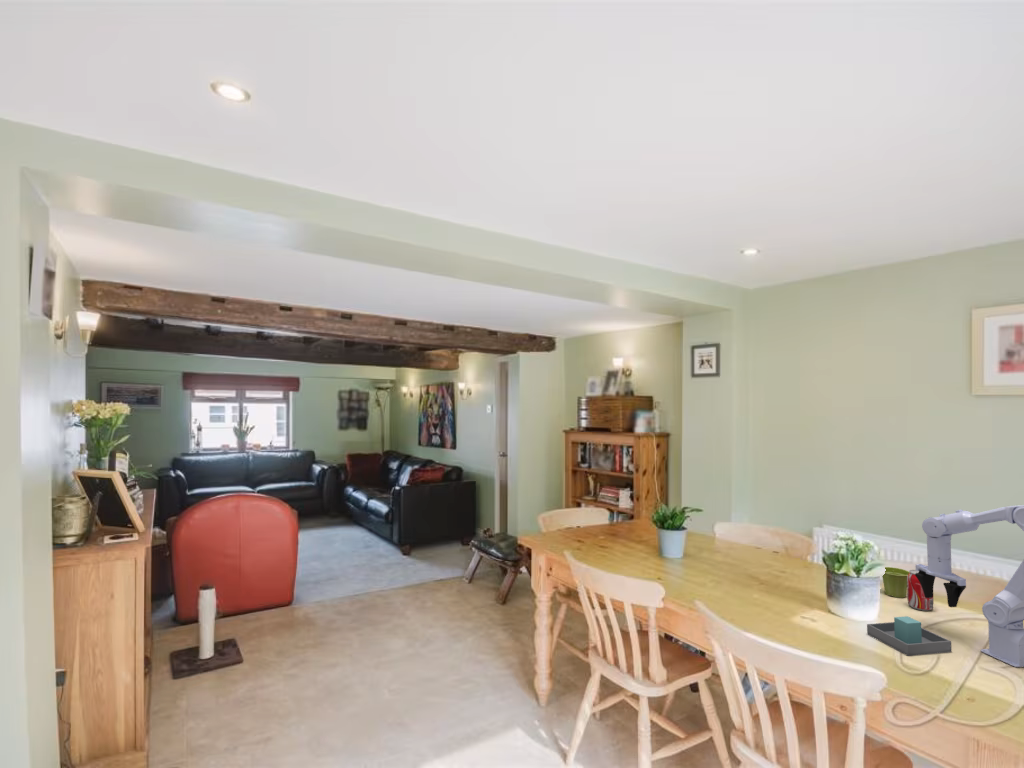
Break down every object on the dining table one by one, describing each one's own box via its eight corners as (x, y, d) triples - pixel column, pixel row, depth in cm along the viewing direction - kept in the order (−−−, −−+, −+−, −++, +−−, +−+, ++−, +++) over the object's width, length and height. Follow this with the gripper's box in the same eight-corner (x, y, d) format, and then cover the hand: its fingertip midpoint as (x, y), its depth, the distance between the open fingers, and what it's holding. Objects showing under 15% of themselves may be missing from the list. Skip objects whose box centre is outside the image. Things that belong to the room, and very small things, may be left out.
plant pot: (917, 600, 189) (916, 575, 190) (887, 598, 191) (886, 574, 192) (903, 591, 199) (902, 567, 199) (875, 589, 201) (874, 566, 201)
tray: (951, 652, 151) (951, 641, 151) (907, 655, 149) (907, 644, 149) (907, 630, 165) (907, 621, 165) (867, 634, 163) (867, 624, 163)
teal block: (921, 643, 155) (921, 622, 155) (908, 644, 154) (907, 623, 155) (908, 636, 160) (907, 616, 160) (894, 637, 159) (894, 617, 159)
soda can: (908, 602, 188) (907, 567, 188) (934, 607, 183) (933, 571, 184) (907, 608, 182) (906, 572, 183) (933, 613, 178) (932, 577, 178)
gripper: (906, 550, 170) (907, 594, 170) (950, 564, 156) (952, 612, 156) (925, 549, 171) (927, 592, 171) (971, 563, 157) (972, 610, 157)
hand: (940, 601), depth 163 cm, fingers open, 7 cm apart
